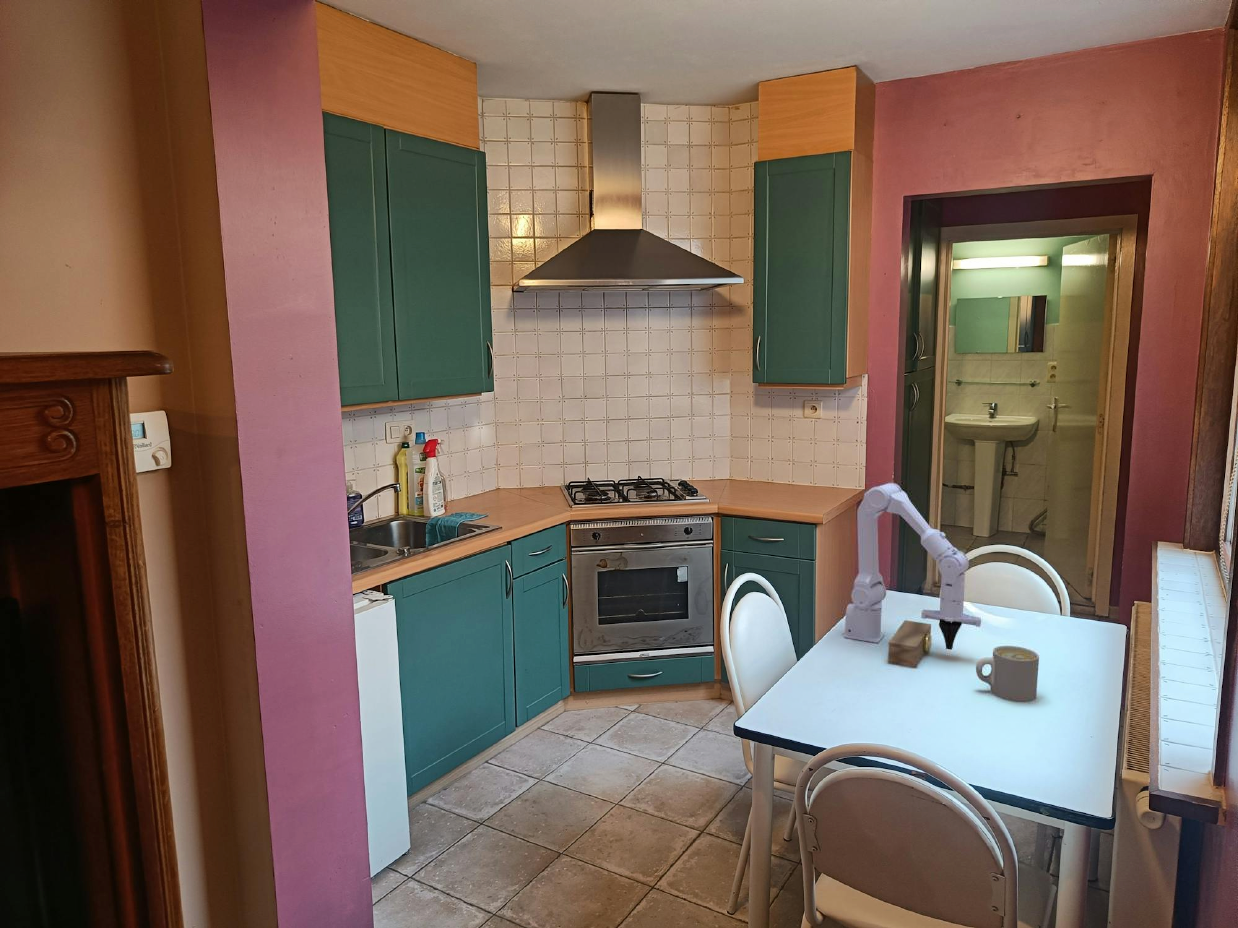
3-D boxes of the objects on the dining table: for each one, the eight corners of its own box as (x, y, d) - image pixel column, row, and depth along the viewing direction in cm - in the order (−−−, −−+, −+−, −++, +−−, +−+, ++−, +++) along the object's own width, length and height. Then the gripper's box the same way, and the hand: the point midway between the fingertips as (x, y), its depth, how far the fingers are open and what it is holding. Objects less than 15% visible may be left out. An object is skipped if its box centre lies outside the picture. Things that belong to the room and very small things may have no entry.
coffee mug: (1035, 688, 209) (1038, 648, 207) (1036, 704, 200) (1039, 663, 198) (975, 679, 214) (977, 641, 213) (974, 695, 205) (976, 654, 204)
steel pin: (892, 649, 234) (892, 631, 233) (895, 643, 238) (896, 626, 237) (927, 655, 229) (928, 637, 229) (931, 649, 233) (931, 632, 233)
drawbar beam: (887, 662, 225) (888, 642, 224) (903, 639, 242) (904, 620, 241) (915, 667, 222) (916, 646, 221) (930, 643, 239) (931, 624, 238)
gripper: (920, 598, 227) (917, 648, 229) (979, 606, 220) (976, 657, 222) (925, 591, 233) (922, 639, 235) (983, 599, 226) (980, 649, 228)
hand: (949, 648), depth 229 cm, fingers closed
